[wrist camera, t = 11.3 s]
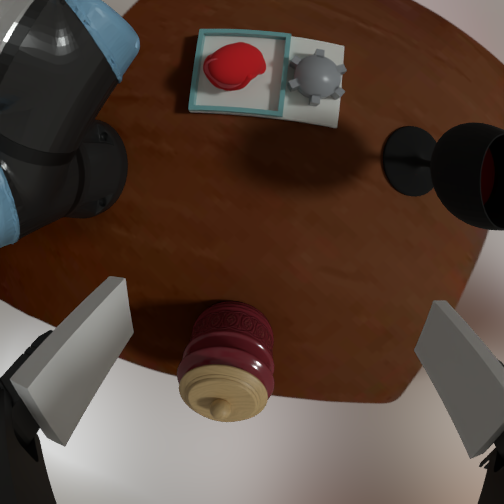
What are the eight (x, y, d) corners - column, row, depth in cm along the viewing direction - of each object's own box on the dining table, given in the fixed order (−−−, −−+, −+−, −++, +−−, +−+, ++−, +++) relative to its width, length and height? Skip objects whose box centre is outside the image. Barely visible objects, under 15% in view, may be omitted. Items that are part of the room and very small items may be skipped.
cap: (208, 103, 30) (250, 90, 27) (188, 59, 26) (230, 41, 23) (241, 84, 34) (279, 74, 31) (225, 47, 31) (263, 34, 27)
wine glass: (443, 134, 33) (540, 141, 14) (436, 200, 37) (527, 243, 18) (384, 119, 33) (475, 107, 14) (379, 192, 37) (463, 234, 18)
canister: (196, 356, 48) (172, 435, 32) (193, 294, 44) (158, 373, 27) (269, 364, 48) (268, 447, 32) (277, 302, 44) (282, 387, 27)
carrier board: (191, 112, 34) (184, 109, 31) (202, 34, 30) (196, 24, 27) (334, 128, 34) (342, 126, 31) (342, 48, 30) (349, 40, 27)
